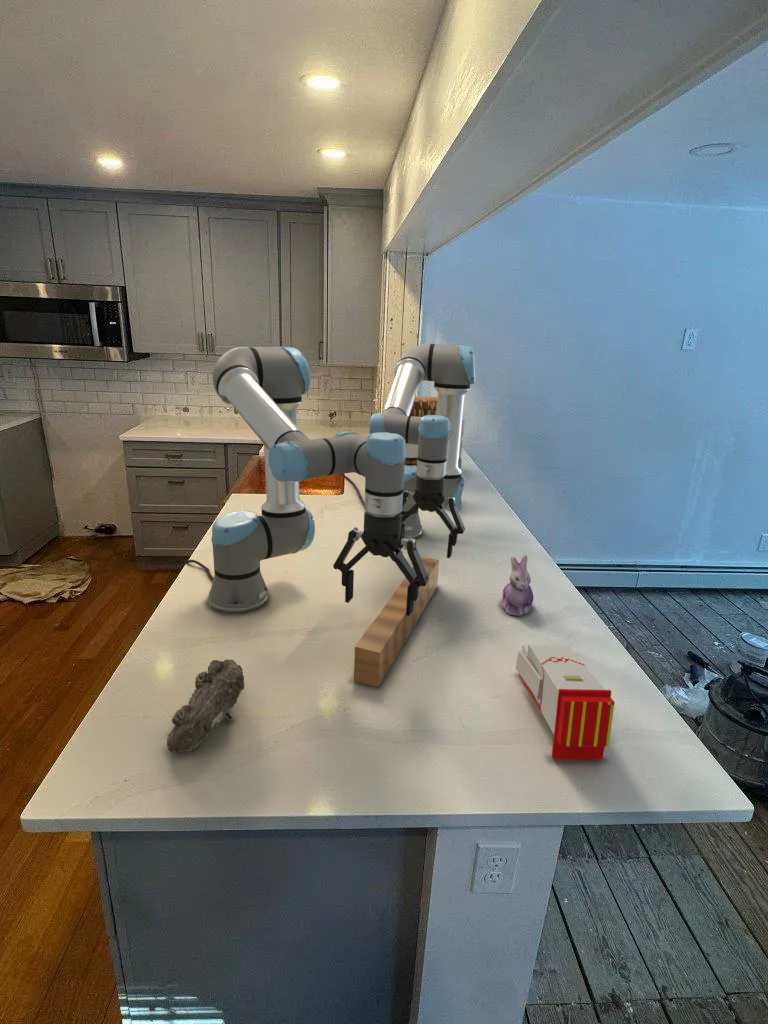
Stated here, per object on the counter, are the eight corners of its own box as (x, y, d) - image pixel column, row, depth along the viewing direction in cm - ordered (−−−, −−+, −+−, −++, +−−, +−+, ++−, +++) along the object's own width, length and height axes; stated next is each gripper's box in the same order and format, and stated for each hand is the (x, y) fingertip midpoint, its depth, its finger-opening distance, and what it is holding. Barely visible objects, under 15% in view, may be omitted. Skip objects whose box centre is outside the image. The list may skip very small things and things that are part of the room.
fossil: (192, 660, 117) (244, 628, 112) (224, 691, 120) (276, 661, 115) (142, 746, 98) (202, 712, 93) (182, 779, 101) (242, 748, 96)
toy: (564, 626, 126) (624, 698, 97) (558, 682, 129) (615, 767, 100) (510, 625, 126) (554, 696, 96) (506, 681, 128) (547, 766, 99)
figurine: (515, 620, 147) (523, 568, 141) (491, 602, 155) (497, 552, 150) (543, 613, 151) (551, 562, 146) (518, 596, 159) (525, 547, 154)
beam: (418, 583, 165) (420, 556, 162) (437, 586, 163) (439, 560, 160) (353, 680, 120) (354, 646, 118) (378, 687, 119) (379, 652, 116)
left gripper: (317, 508, 113) (317, 602, 120) (439, 528, 106) (431, 627, 113) (333, 497, 120) (332, 587, 127) (448, 515, 112) (440, 609, 119)
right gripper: (380, 473, 147) (376, 548, 154) (475, 486, 140) (467, 565, 147) (389, 467, 154) (385, 539, 161) (480, 479, 146) (472, 554, 153)
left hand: (378, 606), depth 120 cm, fingers open, 13 cm apart
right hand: (424, 552), depth 154 cm, fingers open, 13 cm apart
